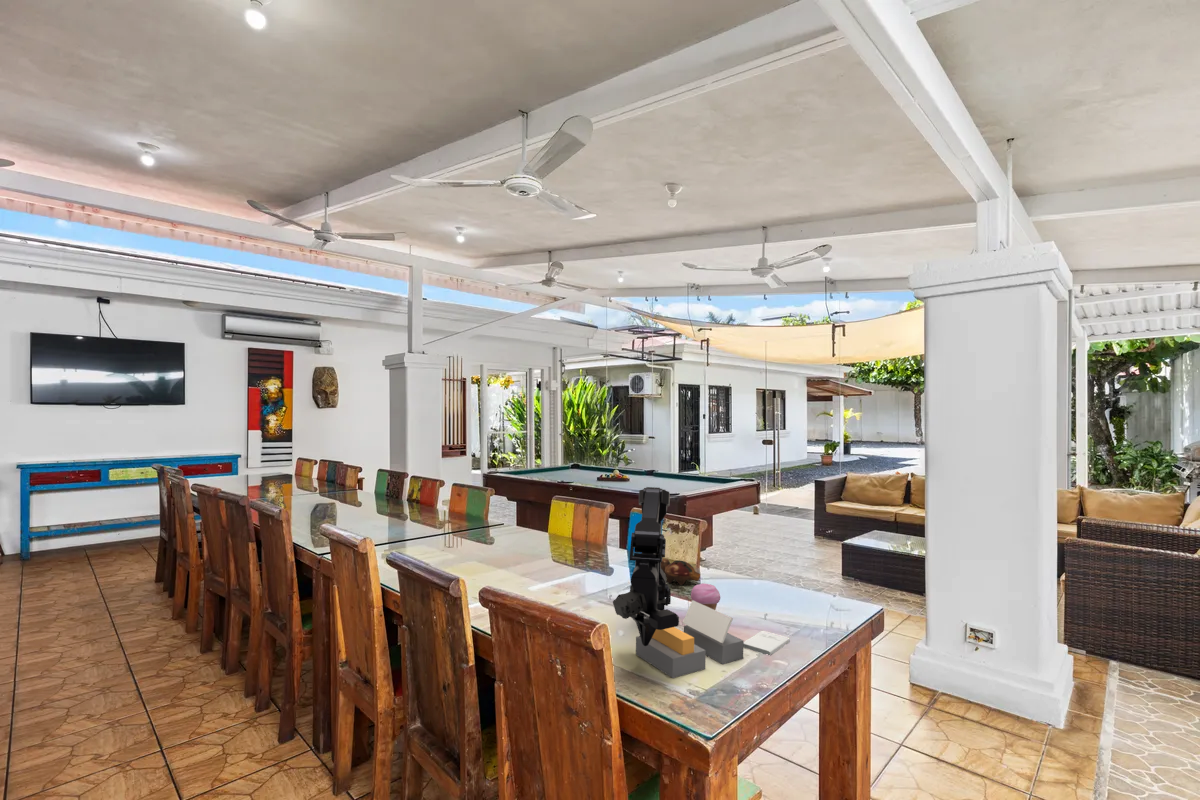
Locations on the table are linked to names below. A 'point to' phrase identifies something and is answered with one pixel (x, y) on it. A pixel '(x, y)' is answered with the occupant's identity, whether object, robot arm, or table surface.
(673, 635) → the orange bar
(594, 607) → the table surface
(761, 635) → the external hard drive
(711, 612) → the panel
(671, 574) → the decorative turtle
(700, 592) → the cupcake
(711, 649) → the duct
